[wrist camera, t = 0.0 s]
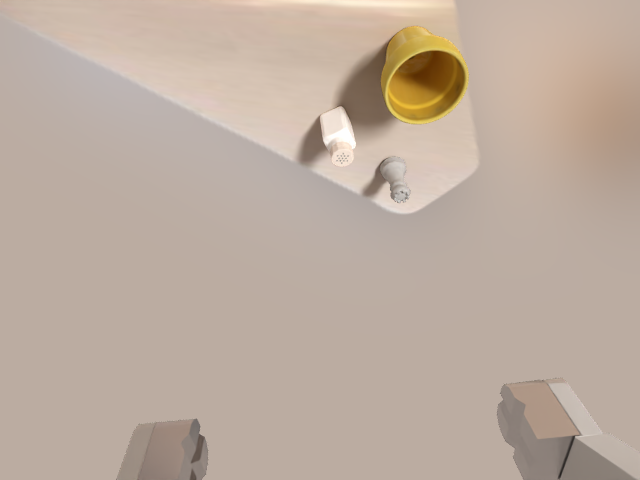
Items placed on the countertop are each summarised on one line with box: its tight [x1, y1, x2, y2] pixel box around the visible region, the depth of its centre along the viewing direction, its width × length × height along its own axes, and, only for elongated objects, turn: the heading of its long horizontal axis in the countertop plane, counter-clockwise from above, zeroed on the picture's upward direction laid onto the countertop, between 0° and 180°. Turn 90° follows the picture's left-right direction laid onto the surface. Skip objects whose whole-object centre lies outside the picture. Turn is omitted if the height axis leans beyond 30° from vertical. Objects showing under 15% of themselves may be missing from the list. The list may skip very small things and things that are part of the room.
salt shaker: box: [320, 106, 356, 167], centre depth 62 cm, size 4×4×10 cm
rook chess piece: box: [380, 157, 410, 203], centre depth 70 cm, size 4×4×8 cm
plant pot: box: [381, 26, 469, 124], centre depth 54 cm, size 10×10×10 cm
